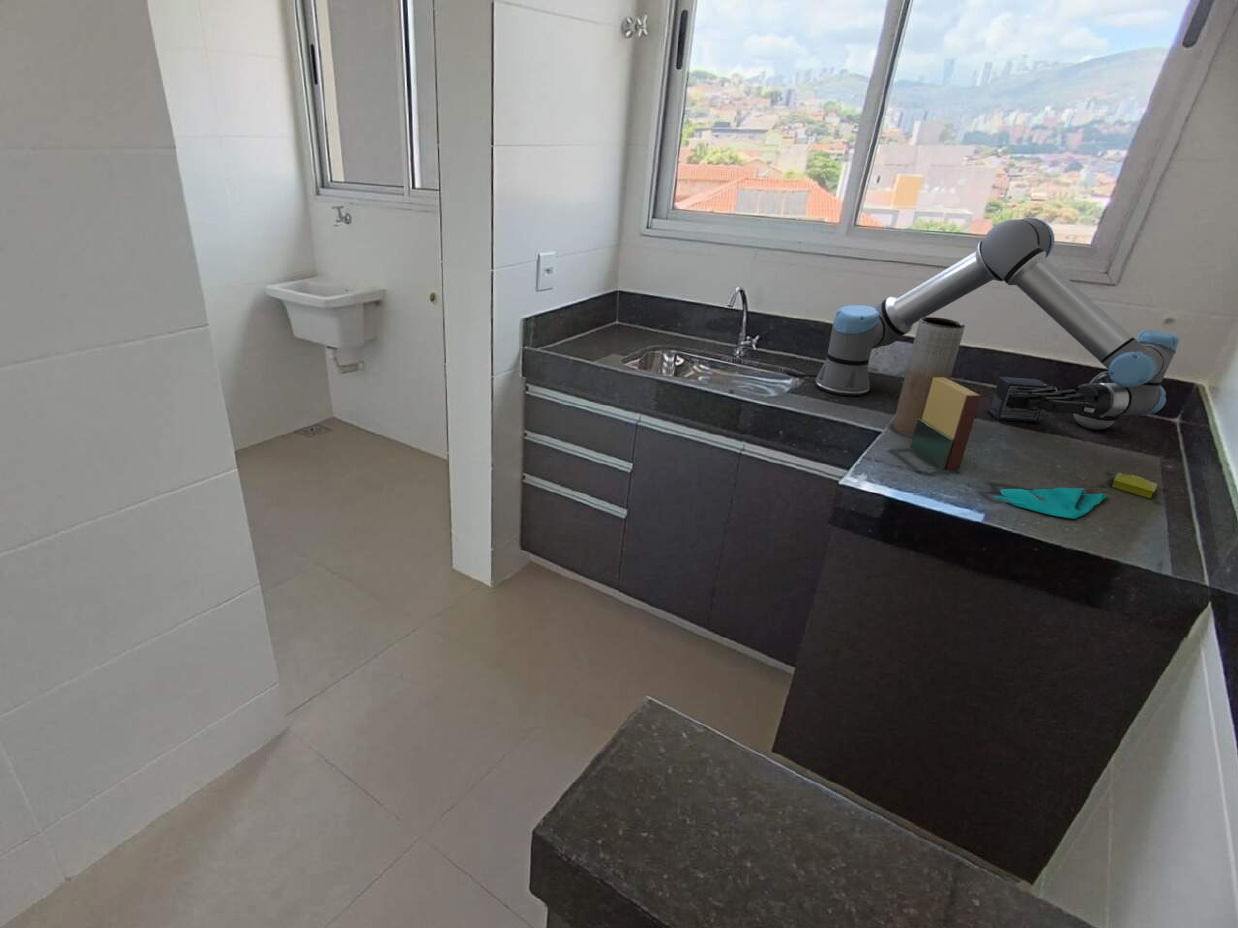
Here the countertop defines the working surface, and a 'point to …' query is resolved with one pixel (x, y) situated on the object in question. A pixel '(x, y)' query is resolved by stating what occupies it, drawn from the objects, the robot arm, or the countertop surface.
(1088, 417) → the black rounded dome
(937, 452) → the bookend
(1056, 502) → the cloth
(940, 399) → the book
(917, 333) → the vase
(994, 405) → the small box
